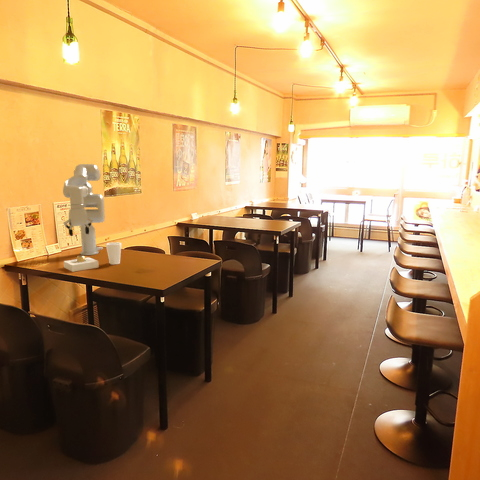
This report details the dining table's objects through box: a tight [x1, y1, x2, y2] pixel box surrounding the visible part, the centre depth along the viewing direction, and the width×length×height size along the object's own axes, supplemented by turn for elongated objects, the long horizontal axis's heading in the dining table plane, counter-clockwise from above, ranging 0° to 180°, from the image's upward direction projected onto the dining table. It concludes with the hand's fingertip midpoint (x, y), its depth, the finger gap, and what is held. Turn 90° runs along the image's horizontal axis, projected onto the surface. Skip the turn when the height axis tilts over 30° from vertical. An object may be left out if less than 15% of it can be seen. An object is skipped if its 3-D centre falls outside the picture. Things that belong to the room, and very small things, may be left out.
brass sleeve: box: [76, 255, 86, 262], centre depth 251 cm, size 4×4×7 cm
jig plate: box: [63, 256, 100, 272], centre depth 251 cm, size 16×14×4 cm
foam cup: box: [105, 241, 122, 265], centre depth 260 cm, size 10×9×13 cm
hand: (79, 234), depth 248 cm, fingers open, 9 cm apart
